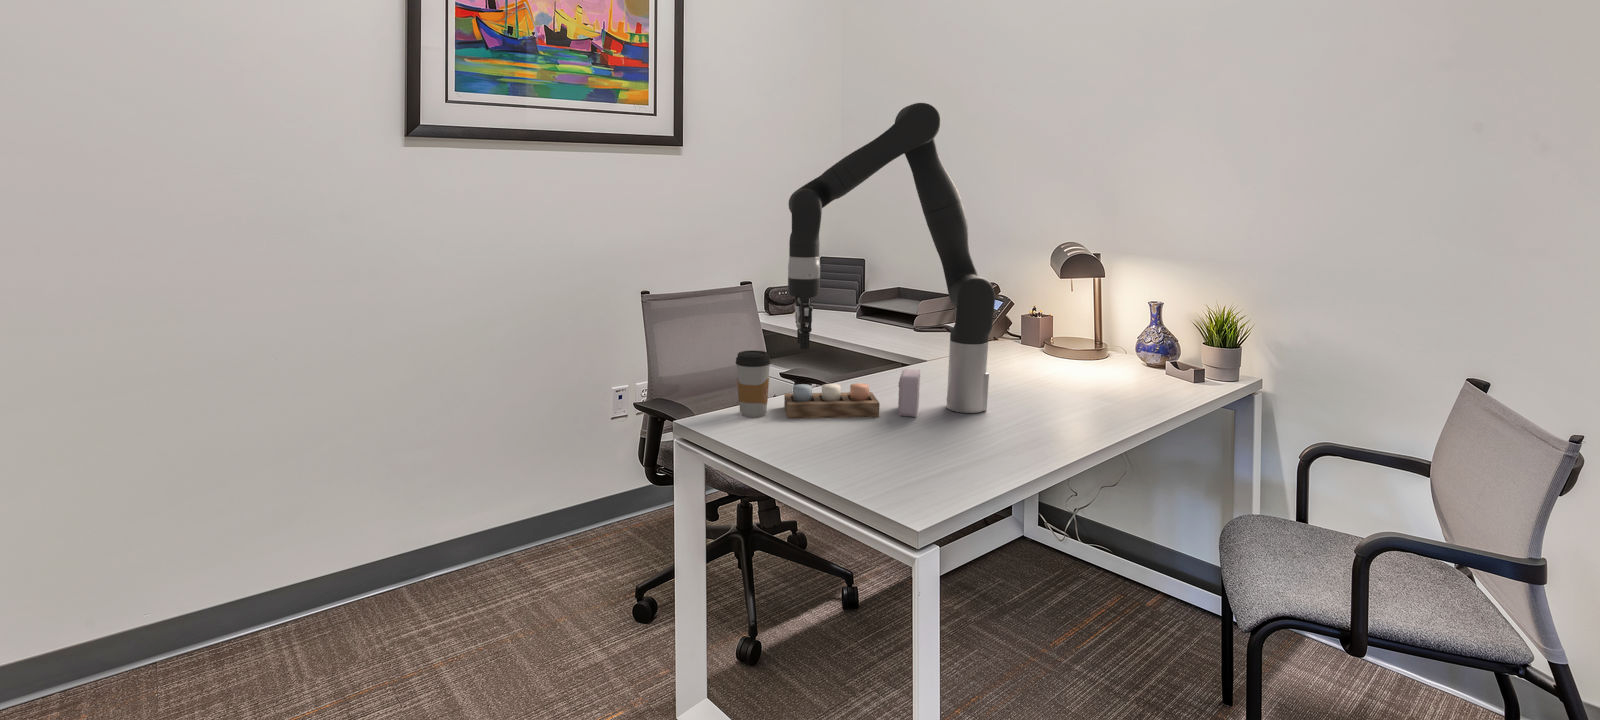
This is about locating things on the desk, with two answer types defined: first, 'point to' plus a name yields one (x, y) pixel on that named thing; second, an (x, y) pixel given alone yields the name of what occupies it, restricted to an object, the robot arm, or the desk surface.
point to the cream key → (831, 392)
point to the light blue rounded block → (802, 392)
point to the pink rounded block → (859, 392)
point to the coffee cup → (753, 382)
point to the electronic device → (909, 392)
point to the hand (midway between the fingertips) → (803, 345)
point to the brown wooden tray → (831, 407)
